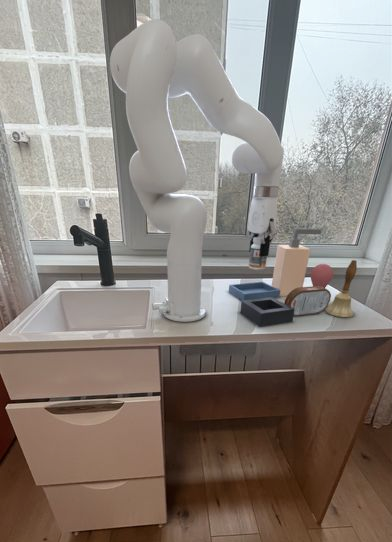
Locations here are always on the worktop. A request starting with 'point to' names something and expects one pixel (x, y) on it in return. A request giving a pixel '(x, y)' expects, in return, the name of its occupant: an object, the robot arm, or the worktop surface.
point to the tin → (308, 300)
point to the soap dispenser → (291, 263)
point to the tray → (254, 290)
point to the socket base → (266, 311)
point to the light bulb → (321, 275)
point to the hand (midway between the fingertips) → (258, 253)
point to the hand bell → (343, 295)
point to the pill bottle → (257, 255)
